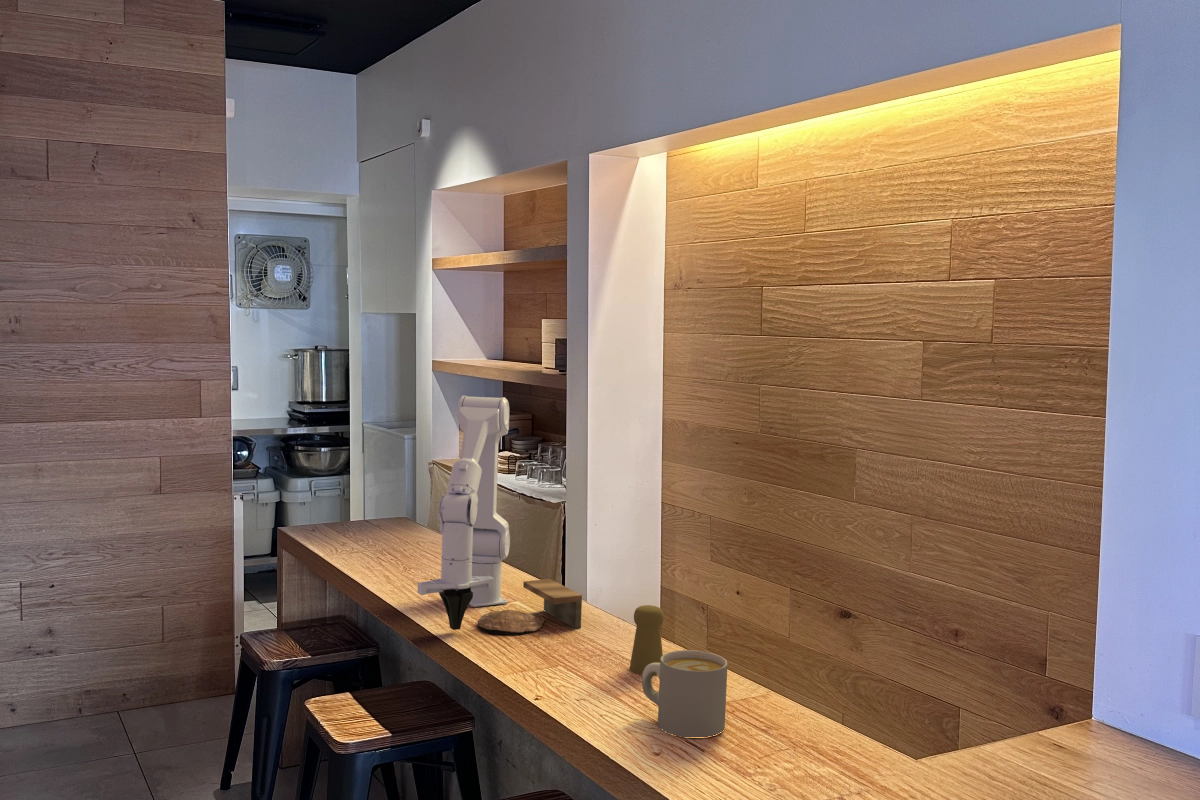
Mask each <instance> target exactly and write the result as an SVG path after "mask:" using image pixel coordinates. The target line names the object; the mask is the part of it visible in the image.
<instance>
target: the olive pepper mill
mask: <svg viewBox="0 0 1200 800" xmlns="http://www.w3.org/2000/svg"><path fill="white" fill-rule="evenodd" d="M633 613H634V614H633V621H634V623H635V625H636V628H635V635H634V640H633V645H632V651H631V656H630V663H629V669H628V670H629V671H630V672H632V673H634V674H638V675H641V676H642V675H643V671H644V669H645V667H646V666H647V665H649V664H651V663H660V660H661V657H662V656H663V655H664V653H663V642H662V633H661V632H662V631H661V626H662V624H663V623H664V619H665V615H664V612H663V610H662V608H660V607H659V606H656V605H650V604H649V605H647V604H646V605H645V604H644V605H640V606H637V607H636V608H635V610H634V612H633ZM654 674H656V675H657V673H653V674H652V676H654Z"/></svg>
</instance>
